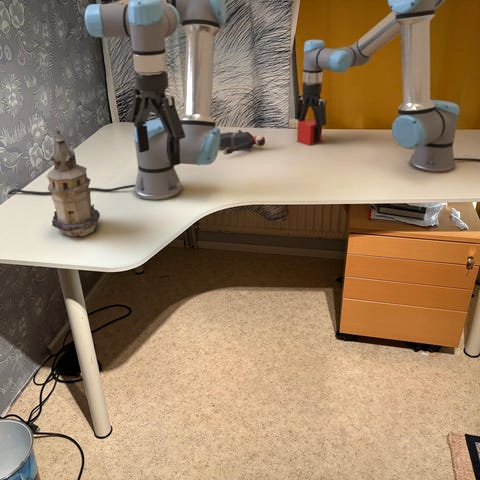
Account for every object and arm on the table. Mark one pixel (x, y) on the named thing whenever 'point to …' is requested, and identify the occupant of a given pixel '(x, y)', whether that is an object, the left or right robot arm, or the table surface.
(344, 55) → the right robot arm
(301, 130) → the red cube
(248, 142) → the toy
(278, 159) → the table surface
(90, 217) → the miniature building
